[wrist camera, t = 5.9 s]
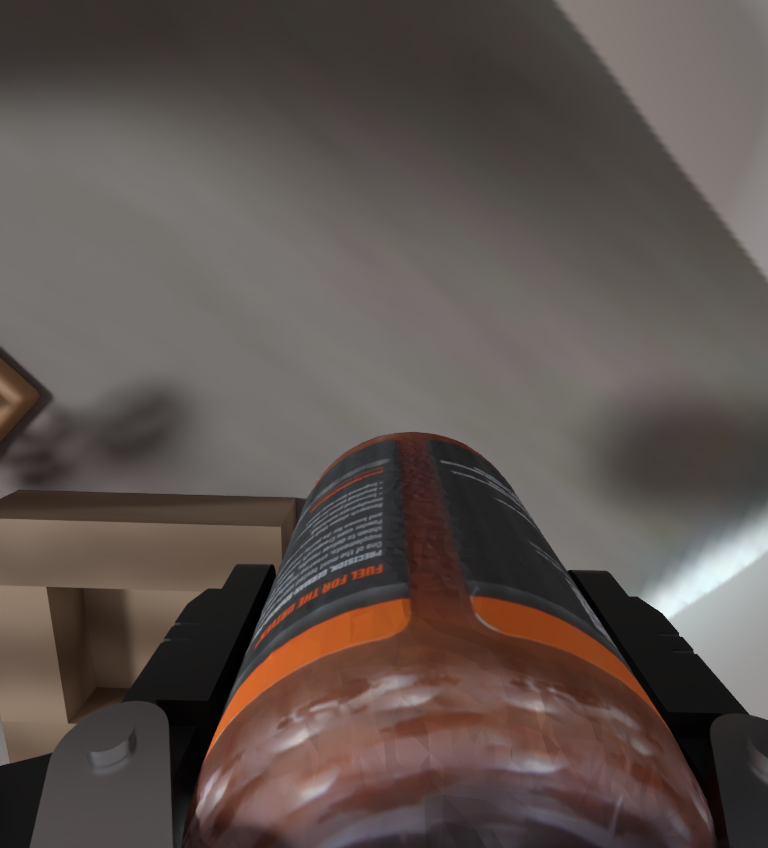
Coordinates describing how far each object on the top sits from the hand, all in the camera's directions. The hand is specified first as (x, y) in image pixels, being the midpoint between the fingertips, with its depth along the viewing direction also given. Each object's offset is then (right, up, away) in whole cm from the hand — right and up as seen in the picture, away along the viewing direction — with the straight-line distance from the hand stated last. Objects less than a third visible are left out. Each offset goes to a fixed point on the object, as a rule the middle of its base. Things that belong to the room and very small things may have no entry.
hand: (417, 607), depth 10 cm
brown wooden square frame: (-13, -7, +18) cm, 23 cm away
